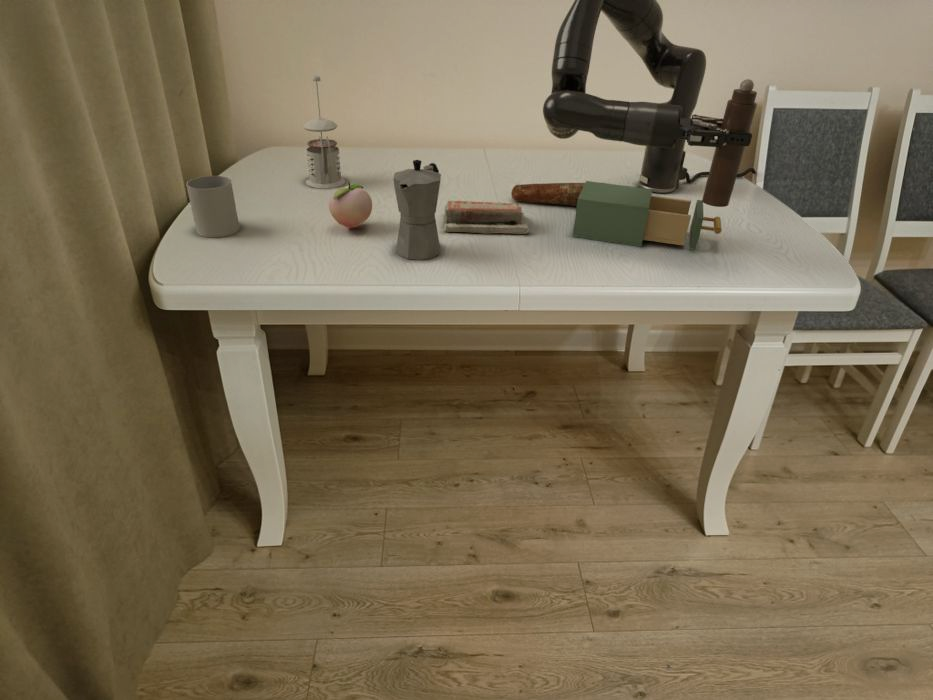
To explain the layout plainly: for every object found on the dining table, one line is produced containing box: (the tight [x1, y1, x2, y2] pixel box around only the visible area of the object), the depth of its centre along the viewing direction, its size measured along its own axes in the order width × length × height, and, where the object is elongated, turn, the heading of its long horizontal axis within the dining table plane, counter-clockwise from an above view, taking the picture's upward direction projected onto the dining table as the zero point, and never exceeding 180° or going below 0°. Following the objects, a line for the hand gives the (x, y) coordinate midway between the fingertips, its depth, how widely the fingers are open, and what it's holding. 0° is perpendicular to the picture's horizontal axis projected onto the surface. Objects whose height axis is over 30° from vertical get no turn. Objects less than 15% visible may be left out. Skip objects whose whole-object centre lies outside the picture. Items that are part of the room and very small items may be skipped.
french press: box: [302, 74, 346, 189], centre depth 149 cm, size 10×12×25 cm
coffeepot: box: [392, 159, 442, 261], centre depth 120 cm, size 15×9×18 cm, turn 159°
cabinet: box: [572, 180, 653, 248], centre depth 133 cm, size 14×12×8 cm
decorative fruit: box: [328, 181, 373, 229], centre depth 129 cm, size 9×8×10 cm
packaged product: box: [443, 200, 529, 235], centre depth 135 cm, size 18×5×10 cm
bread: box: [511, 182, 585, 207], centre depth 148 cm, size 6×19×6 cm, turn 81°
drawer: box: [643, 195, 723, 250], centre depth 130 cm, size 18×11×7 cm, turn 73°
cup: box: [186, 175, 240, 238], centre depth 127 cm, size 8×8×10 cm
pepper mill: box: [701, 78, 758, 208], centre depth 111 cm, size 5×5×22 cm
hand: (749, 135), depth 110 cm, fingers closed on pepper mill, 5 cm apart
